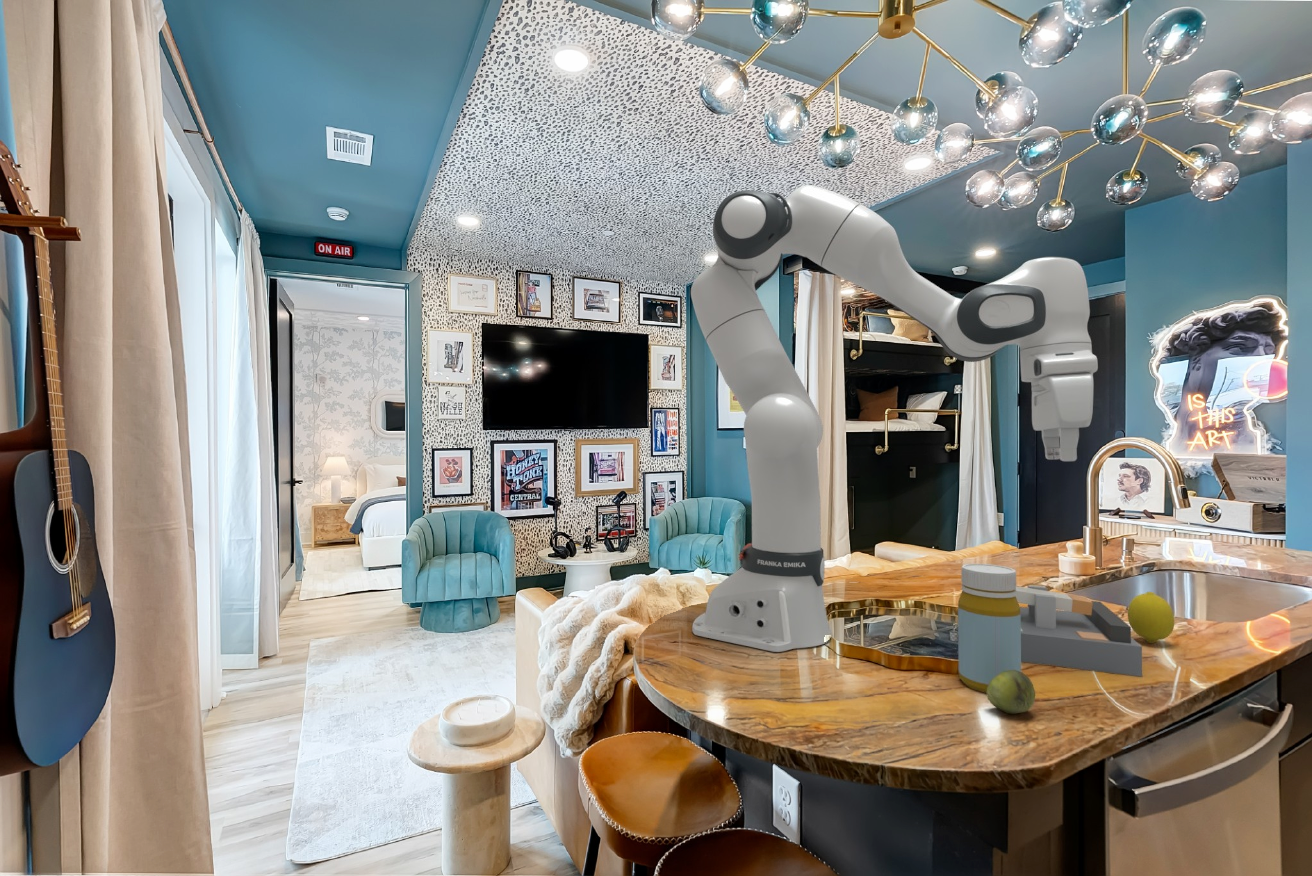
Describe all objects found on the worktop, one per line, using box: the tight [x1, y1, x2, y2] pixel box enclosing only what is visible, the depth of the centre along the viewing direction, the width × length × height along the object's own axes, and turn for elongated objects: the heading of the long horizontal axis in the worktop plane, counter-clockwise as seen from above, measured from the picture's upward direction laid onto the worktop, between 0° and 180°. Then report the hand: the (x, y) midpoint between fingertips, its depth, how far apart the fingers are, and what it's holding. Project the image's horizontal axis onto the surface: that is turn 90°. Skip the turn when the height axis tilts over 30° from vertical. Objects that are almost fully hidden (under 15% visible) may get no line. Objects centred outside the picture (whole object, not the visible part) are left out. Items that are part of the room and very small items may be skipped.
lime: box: [985, 670, 1036, 715], centre depth 68 cm, size 4×5×5 cm
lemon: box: [1127, 591, 1175, 644], centre depth 91 cm, size 6×6×8 cm
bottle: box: [957, 563, 1022, 694], centre depth 76 cm, size 7×7×15 cm
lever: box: [1016, 585, 1093, 615], centre depth 89 cm, size 12×4×2 cm, turn 66°
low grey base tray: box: [1020, 584, 1143, 677], centre depth 89 cm, size 20×16×9 cm
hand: (1060, 460), depth 87 cm, fingers open, 8 cm apart
